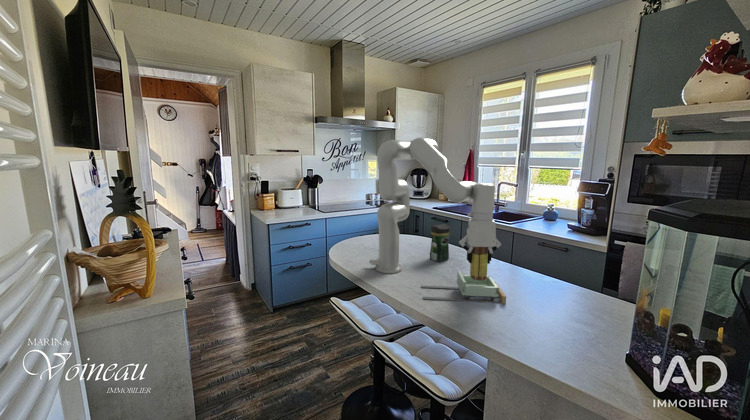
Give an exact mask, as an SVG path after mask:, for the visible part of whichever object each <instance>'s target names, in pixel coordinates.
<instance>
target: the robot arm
mask: <svg viewBox="0 0 750 420" xmlns="http://www.w3.org/2000/svg"><path fill="white" fill-rule="evenodd" d="M376 157H377V168H378V186H379V187H378V188H379V190H378V192H379V197H380V198H381V199H382V200H384V201H392V202H389V203H384V204H382V205H381V206H379V208H378V209H377V213H376V217H377V218H376V219H377V223H378V258H375V259H371V258H370V259H369V260H368V261H369V264H371V265H372V266H375V270H376V271H377V272H379V273H383V274H396V273H399V272H401V271H402V270H403V268H402V267H403V266H402V265H401V264H400V263H399V258H400V229H399V226H398V222H402V221H405V220H406V219H408V217H409V215H410V211H411V207H410V206H411V205H410V187H409V185H408V183H407V182H406V180H404V179H403V178H398V168H397V165H396V163H395V161H408V160H409V161H411V160H416V161H417V162H418V163H420V165H421V166H422V167H423V168H424V169H425V170H426V171H427V172H428V173H429V175H431V180H432V181H433V183H434V185H435V186H436V188H437V189H438V190H439V191H440V193H442V194H443V195H444V196H445V197H446V198H447V199H448V200H450V201H451V202H453V203H463V202H467V201H472V205H471V212H467V217H470V218H469V219H468V222H467V228H466V235H465V236H464V237H463V238H462V239H460V240H459V241H458V243H459V245H460V246H461V247H462V248H463V249H464V250H465V251H466V260H467V261H468V263H469V264H470V263H472V253H471V251H472V249H473V247H488V264H487V265H490V264H491V261H492V255H493V254H494V252H495V251H496V250H497V249H498V248H500V247H501V246H502V243H501V242H500V241H499V240H498V238H497V232H496V231H497V227H496V226H497V225H496V221H495V220H494V218H493V217H494V205H495V196H496V193H495V192H496V187H495V186H496V185H494V184H493V183H489V182H488V183H487V182H474V181H470V180H469V181H468V180H464V181H463V180H462V181H459V180H457V178H455V177H454V176H453V174H452V173H451V171H449V169H448V166H447V165H448V159H447V158H446V157H445V155H443V154H442V153H441V152H440V151H439V145H438V143H437V142H436V140H434V139H432V138H429V137H416V138H414V139H412V140H401V139H391V140H386V141H385V142H383V143H382V144H381V146H380V147H379V148H378V150H377V155H376ZM466 244H467V245H466Z"/></svg>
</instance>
